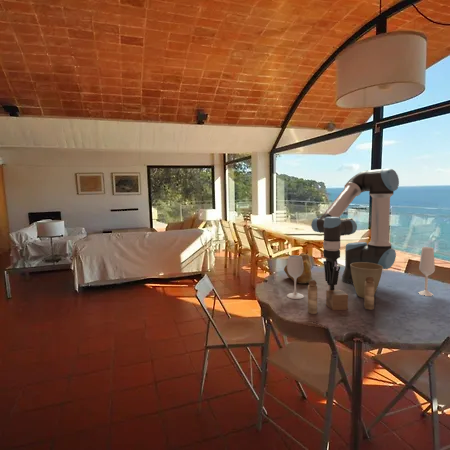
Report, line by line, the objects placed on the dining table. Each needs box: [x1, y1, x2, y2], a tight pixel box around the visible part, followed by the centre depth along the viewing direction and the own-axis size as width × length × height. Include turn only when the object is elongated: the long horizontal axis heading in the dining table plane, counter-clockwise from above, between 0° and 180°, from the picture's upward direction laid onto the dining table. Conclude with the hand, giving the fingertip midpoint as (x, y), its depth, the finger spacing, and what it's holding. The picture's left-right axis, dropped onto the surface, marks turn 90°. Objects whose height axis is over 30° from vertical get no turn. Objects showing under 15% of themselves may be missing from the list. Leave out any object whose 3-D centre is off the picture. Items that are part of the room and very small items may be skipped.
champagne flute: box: [417, 246, 436, 297], centre depth 152 cm, size 7×7×24 cm
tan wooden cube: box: [325, 289, 349, 311], centre depth 139 cm, size 7×7×7 cm
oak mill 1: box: [307, 279, 318, 315], centre depth 133 cm, size 4×4×15 cm
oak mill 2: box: [363, 276, 375, 311], centre depth 136 cm, size 4×4×15 cm
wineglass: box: [286, 255, 305, 300], centre depth 154 cm, size 9×9×21 cm
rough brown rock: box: [283, 253, 313, 284], centre depth 184 cm, size 23×17×15 cm
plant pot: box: [350, 262, 384, 299], centre depth 152 cm, size 15×15×16 cm
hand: (330, 297), depth 144 cm, fingers closed
